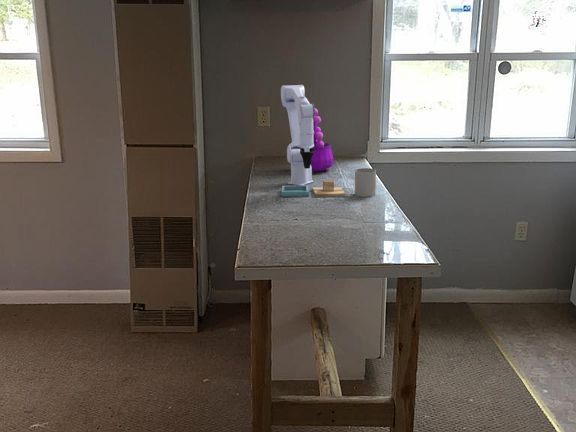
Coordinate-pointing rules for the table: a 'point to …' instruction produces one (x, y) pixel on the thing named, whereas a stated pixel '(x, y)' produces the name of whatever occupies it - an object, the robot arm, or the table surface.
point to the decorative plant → (320, 148)
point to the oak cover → (328, 189)
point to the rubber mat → (333, 195)
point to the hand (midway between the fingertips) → (306, 166)
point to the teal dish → (295, 191)
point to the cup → (365, 182)
